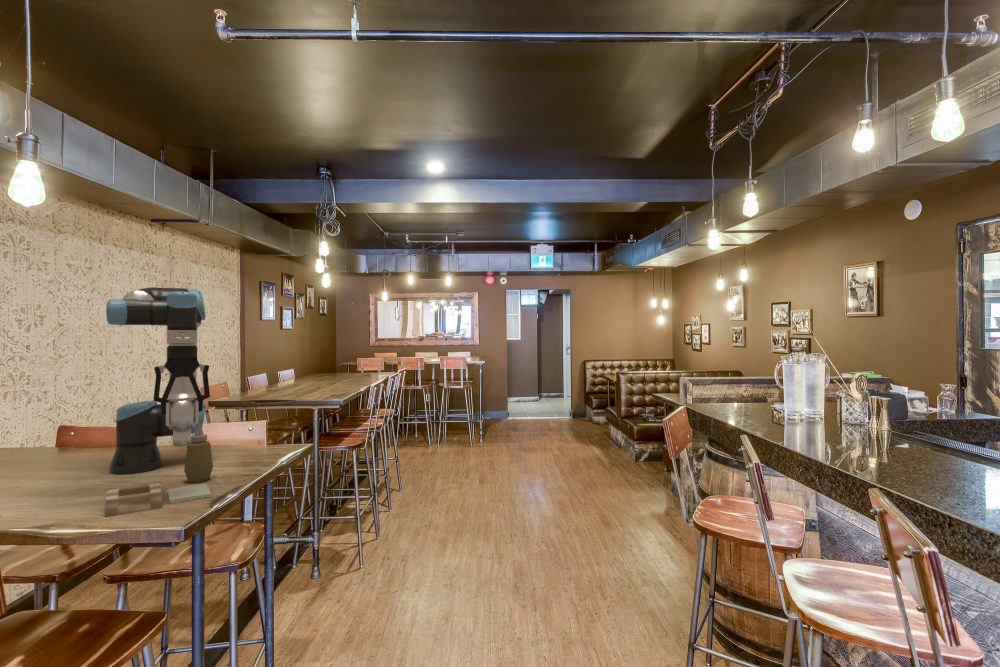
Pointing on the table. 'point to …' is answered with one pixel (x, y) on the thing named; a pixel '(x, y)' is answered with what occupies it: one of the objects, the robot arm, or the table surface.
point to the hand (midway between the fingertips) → (182, 424)
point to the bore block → (133, 499)
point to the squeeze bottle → (198, 457)
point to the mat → (188, 493)
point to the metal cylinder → (181, 420)
